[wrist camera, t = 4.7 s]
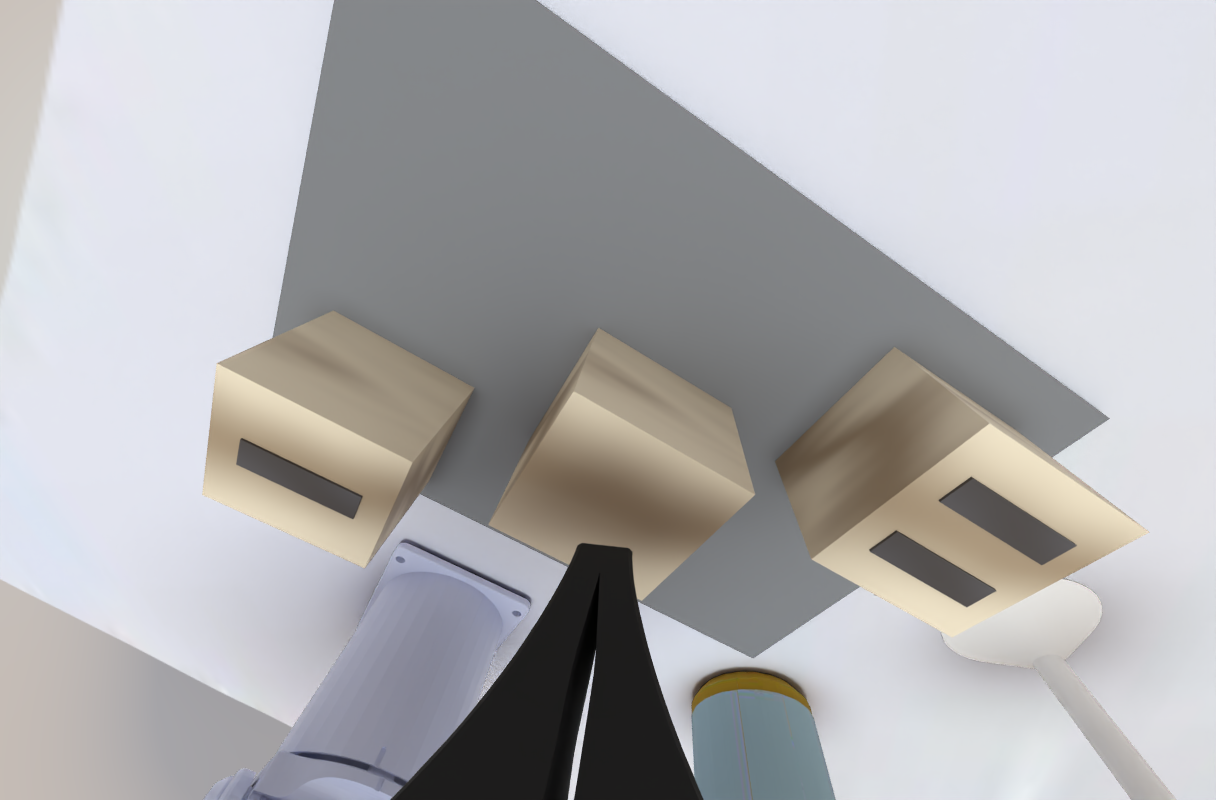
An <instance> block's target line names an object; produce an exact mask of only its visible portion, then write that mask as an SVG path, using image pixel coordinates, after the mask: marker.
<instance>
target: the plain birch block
mask: <svg viewBox="0 0 1216 800" xmlns="http://www.w3.org/2000/svg"><path fill="white" fill-rule="evenodd" d="M754 495H755V492H754V489H753V485H752V481H751V478H750V474H749V470H748V467H747V463H746V459H745V456H744V452H743V449H742V445H741V441H740V438H739V434H738V430H737V427H736V423H735V419H734V416H733V412H732V408H730V407H729V406H727V405H725V404H724V403H722V402H720V401H719V400H717V399H716V398H714V397H712V396H711V395H709V394H707V393H706V392H704V391H702V390H701V389H699V388H697V387H696V386H694V385H692V384H691V383H689V382H687V381H686V380H684V379H682V378H681V377H679V376H678V375H676V374H674V373H673V372H671V371H669V370H668V369H666V368H664V367H663V366H661V365H659V364H658V363H656V362H654V361H653V360H651V359H649V358H648V357H646V356H644V355H643V354H641V353H640V352H638V351H636V350H635V349H633V348H631V347H630V346H628V345H626V344H625V343H623V342H621V341H620V340H618V339H616V338H615V337H613V336H611V335H610V334H608V333H607V332H605V331H603V330H602V329H600V328H598V329H597V331H596V333H595V334H594V336H593V337H592V339H591V341H590V342H589V344H588V346H587V347H586V349H585V350H584V352H583V354H582V355H581V357H580V358H579V360H578V362H577V363H576V365H575V367H574V368H573V370H572V371H571V373H570V375H569V376H568V378H567V380H566V381H565V383H564V384H563V386H562V388H561V389H560V391H559V392H558V394H557V396H556V397H555V399H554V401H553V402H552V404H551V405H550V407H549V409H548V410H547V412H546V414H545V415H544V417H543V418H542V420H541V422H540V423H539V425H538V426H537V428H536V430H535V431H534V433H533V435H532V436H531V438H530V439H529V441H528V443H527V446H526V448H525V450H524V452H523V454H522V456H521V458H520V460H519V462H518V464H517V466H516V468H515V470H514V473H513V475H512V477H511V479H510V481H509V483H508V485H507V487H506V489H505V491H504V493H503V495H502V497H501V500H500V502H499V504H498V506H497V508H496V510H495V512H494V514H493V516H492V518H491V520H490V522H489V524H488V525H489V526H491V527H493V528H495V529H497V530H499V531H501V532H503V533H505V534H507V535H509V536H511V537H513V538H515V539H517V540H519V541H521V542H523V543H526V544H528V545H530V546H532V547H534V548H536V549H538V550H540V551H542V552H544V553H546V554H548V555H550V556H552V557H554V558H556V559H558V560H560V561H562V562H564V563H566V564H568V565H569V564H570V562H571V560H572V558H573V556H574V553H575V551H576V548H577V545H579V544H581V543H588V544H597V545H606V546H616V547H625V548H629V549H630V550H631V551H632V552H633V555H632V561H633V576H634V584H635V590H636V596H637V599H639V600H641V601H642V600H643V599H644V598H645V597H647V596H648V595H649V594H650V593H651V592H652V591H653V590H654V589H655V588H656V587H657V586H658V585H659V584H660V583H661V582H663V581H664V580H665V579H666V578H667V577H668V576H669V575H670V574H671V573H672V572H673V571H674V570H675V569H676V568H678V567H679V566H680V565H681V564H682V563H683V562H684V561H685V560H686V559H687V558H688V557H689V556H690V555H691V554H692V553H694V552H695V551H696V550H697V549H698V548H699V547H700V546H701V545H702V544H703V543H704V542H705V541H706V540H707V539H709V538H710V537H711V536H712V535H713V534H714V533H715V532H716V531H717V530H718V529H719V528H720V527H721V526H722V525H723V524H725V523H726V522H727V521H728V520H729V519H730V518H731V517H732V516H733V515H734V514H735V513H736V512H737V511H738V510H739V509H741V508H742V507H743V506H744V505H745V504H746V503H747V502H748V501H749V500H750V499H751V498H752V497H753V496H754Z"/></svg>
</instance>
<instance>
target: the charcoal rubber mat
mask: <svg viewBox="0 0 1216 800" xmlns="http://www.w3.org/2000/svg"><path fill="white" fill-rule="evenodd" d="M331 311H335V312H337V313H339V314H341V315H343V316H344V317H346V318H348V319H350V320H352V321H354V322H355V323H357V324H359V325H361V326H363V327H364V328H366V329H368V330H370V331H372V332H374V333H375V334H377V335H379V336H381V337H383V338H384V339H386V340H388V341H390V342H392V343H394V344H395V345H397V346H399V347H401V348H403V349H405V350H406V351H408V352H410V353H412V354H414V355H415V356H417V357H419V358H421V359H423V360H425V361H426V362H428V363H430V364H432V365H434V366H435V367H437V368H439V369H441V370H443V371H445V372H446V373H448V374H450V375H452V376H454V377H456V378H457V379H459V380H461V381H463V382H465V383H466V384H468V385H470V386H472V387H474V390H473V392H472V394H471V396H470V398H469V400H468V402H467V404H466V406H465V408H464V410H463V412H462V414H461V416H460V419H459V421H458V423H457V425H456V427H455V429H454V431H453V433H452V435H451V437H450V439H449V441H448V443H447V445H446V447H445V449H444V451H443V453H442V455H441V457H440V459H439V461H438V463H437V465H436V467H435V469H434V472H433V474H432V476H431V478H430V480H429V482H428V483H427V484H426V486H425V487H424V489H423V490H422V491H421V493H420V494H421V495H423V496H425V497H427V498H429V499H431V500H434V501H436V502H438V503H440V504H442V505H444V506H446V507H448V508H450V509H452V510H454V511H456V512H458V513H460V514H462V515H464V516H466V517H468V518H470V519H472V520H474V521H476V522H478V523H480V524H482V525H484V526H486V527H488V528H490V529H492V530H494V531H496V532H498V533H500V534H502V535H504V536H506V537H508V538H510V539H512V540H515V541H517V542H519V543H521V544H523V545H525V546H527V547H529V548H531V549H533V550H535V551H537V552H539V553H541V554H543V555H545V556H547V557H549V558H551V559H553V560H555V561H557V562H559V563H561V564H563V565H565V566H567V567H568V566H569V565H568V564H566V563H564V562H562V561H560V560H558V559H556V558H554V557H552V556H550V555H548V554H546V553H544V552H542V551H540V550H538V549H536V548H534V547H532V546H530V545H528V544H526V543H523V542H521V541H519V540H517V539H515V538H513V537H511V536H509V535H507V534H505V533H503V532H501V531H499V530H497V529H495V528H493V527H491V526H489V525H488V524H489V522H490V520H491V518H492V516H493V514H494V512H495V510H496V508H497V506H498V504H499V502H500V500H501V497H502V495H503V493H504V491H505V489H506V487H507V485H508V483H509V481H510V479H511V477H512V475H513V473H514V470H515V468H516V466H517V464H518V462H519V460H520V458H521V456H522V454H523V452H524V450H525V448H526V446H527V443H528V441H529V439H530V438H531V436H532V435H533V433H534V431H535V430H536V428H537V426H538V425H539V423H540V422H541V420H542V418H543V417H544V415H545V414H546V412H547V410H548V409H549V407H550V405H551V404H552V402H553V401H554V399H555V397H556V396H557V394H558V392H559V391H560V389H561V388H562V386H563V384H564V383H565V381H566V380H567V378H568V376H569V375H570V373H571V371H572V370H573V368H574V367H575V365H576V363H577V362H578V360H579V358H580V357H581V355H582V354H583V352H584V350H585V349H586V347H587V346H588V344H589V342H590V341H591V339H592V337H593V336H594V334H595V333H596V331H597V329H598V328H600V329H602V330H603V331H605V332H607V333H608V334H610V335H611V336H613V337H615V338H616V339H618V340H620V341H621V342H623V343H625V344H626V345H628V346H630V347H631V348H633V349H635V350H636V351H638V352H640V353H641V354H643V355H644V356H646V357H648V358H649V359H651V360H653V361H654V362H656V363H658V364H659V365H661V366H663V367H664V368H666V369H668V370H669V371H671V372H673V373H674V374H676V375H678V376H679V377H681V378H682V379H684V380H686V381H687V382H689V383H691V384H692V385H694V386H696V387H697V388H699V389H701V390H702V391H704V392H706V393H707V394H709V395H711V396H712V397H714V398H716V399H717V400H719V401H720V402H722V403H724V404H725V405H727V406H729V407H730V408H732V412H733V416H734V419H735V423H736V427H737V430H738V434H739V438H740V441H741V445H742V449H743V452H744V456H745V459H746V463H747V467H748V470H749V474H750V478H751V481H752V485H753V489H754V492H755V495H754V496H753V497H752V498H751V499H750V500H749V501H748V502H747V503H746V504H745V505H744V506H743V507H742V508H741V509H739V510H738V511H737V512H736V513H735V514H734V515H733V516H732V517H731V518H730V519H729V520H728V521H727V522H726V523H725V524H723V525H722V526H721V527H720V528H719V529H718V530H717V531H716V532H715V533H714V534H713V535H712V536H711V537H710V538H709V539H707V540H706V541H705V542H704V543H703V544H702V545H701V546H700V547H699V548H698V549H697V550H696V551H695V552H694V553H692V554H691V555H690V556H689V557H688V558H687V559H686V560H685V561H684V562H683V563H682V564H681V565H680V566H679V567H678V568H676V569H675V570H674V571H673V572H672V573H671V574H670V575H669V576H668V577H667V578H666V579H665V580H664V581H663V582H661V583H660V584H659V585H658V586H657V587H656V588H655V589H654V590H653V591H652V592H651V593H650V594H649V595H648V596H647V597H645V598H644V599H643V600H642V601H641V600H639V599H637V601H638V602H640V603H642V604H644V605H646V606H648V607H650V608H652V609H654V610H656V611H658V612H660V613H662V614H664V615H666V616H668V617H670V618H672V619H674V620H677V621H679V622H681V623H683V624H685V625H687V626H689V627H691V628H693V629H695V630H697V631H699V632H701V633H703V634H705V635H707V636H709V637H711V638H713V639H715V640H717V641H719V642H721V643H723V644H725V645H727V646H729V647H731V648H733V649H735V650H737V651H739V652H741V653H743V654H745V655H747V656H749V657H751V658H754V657H756V656H757V655H759V654H760V653H762V652H763V651H765V650H766V649H768V648H769V647H771V646H772V645H774V644H775V643H777V642H778V641H780V640H781V639H783V638H784V637H786V636H787V635H789V634H790V633H792V632H793V631H795V630H796V629H798V628H799V627H801V626H802V625H804V624H805V623H807V622H808V621H809V620H811V619H812V618H814V617H815V616H817V615H818V614H820V613H821V612H823V611H824V610H826V609H827V608H829V607H830V606H832V605H833V604H835V603H836V602H838V601H839V600H841V599H842V598H844V597H845V596H847V595H848V594H850V593H851V592H853V591H854V590H856V589H857V588H859V587H860V586H858V585H857V584H855V583H853V582H851V581H849V580H848V579H846V578H844V577H842V576H840V575H839V574H837V573H835V572H833V571H831V570H830V569H828V568H826V567H824V566H822V565H821V564H819V563H817V562H815V561H813V560H812V559H811V557H810V554H809V552H808V549H807V546H806V544H805V541H804V538H803V536H802V533H801V530H800V528H799V525H798V522H797V519H796V517H795V514H794V511H793V509H792V506H791V503H790V501H789V498H788V495H787V492H786V490H785V487H784V484H783V482H782V479H781V476H780V474H779V471H778V468H777V465H776V463H775V461H776V460H777V459H778V458H779V457H780V456H781V455H782V454H783V453H784V452H785V451H786V450H787V449H788V448H790V447H791V446H792V445H793V444H794V443H795V442H796V441H797V440H798V439H799V438H800V437H801V436H802V435H803V434H804V433H805V432H806V431H807V430H808V429H809V428H810V427H811V426H812V425H814V424H815V423H816V422H817V421H818V420H819V419H820V418H821V417H822V416H823V415H824V414H825V413H826V412H827V411H828V410H829V409H830V408H831V407H832V406H833V405H834V404H835V403H836V402H837V401H839V400H840V399H841V398H842V397H843V396H844V395H845V394H846V393H847V392H848V391H849V390H850V389H851V388H852V387H853V386H854V385H855V384H856V383H857V382H858V381H859V380H860V379H861V378H862V377H864V376H865V375H866V374H867V373H868V372H869V371H870V370H871V369H872V368H873V367H874V366H875V365H876V364H877V363H878V362H879V361H880V360H881V359H882V358H883V357H884V356H885V355H886V354H888V353H889V352H890V351H891V350H892V349H893V348H894V347H895V348H897V349H898V350H900V351H901V352H903V353H904V354H906V355H907V356H909V357H910V358H911V359H913V360H914V361H916V362H917V363H919V364H920V365H922V366H923V367H925V368H926V369H927V370H929V371H930V372H932V373H933V374H935V375H936V376H938V377H939V378H941V379H942V380H944V381H945V382H946V383H948V384H949V385H951V386H952V387H954V388H955V389H957V390H958V391H960V392H961V393H962V394H964V395H965V396H967V397H968V398H970V399H971V400H973V401H974V402H976V403H977V404H979V405H980V406H981V407H983V408H984V409H986V410H987V411H989V412H990V413H992V414H993V415H995V416H996V417H997V418H999V419H1000V420H1002V421H1003V422H1005V423H1006V424H1008V425H1009V426H1011V427H1012V428H1013V429H1015V430H1016V431H1018V432H1019V433H1020V434H1022V435H1023V436H1024V437H1026V438H1027V439H1028V440H1030V441H1031V442H1032V443H1033V444H1035V445H1036V446H1037V447H1039V448H1040V449H1041V450H1043V451H1044V452H1045V453H1047V454H1048V455H1049V456H1050V457H1053V456H1055V455H1056V454H1058V453H1059V452H1061V451H1062V450H1064V449H1065V448H1067V447H1068V446H1070V445H1071V444H1073V443H1074V442H1076V441H1077V440H1079V439H1080V438H1082V437H1083V436H1085V435H1086V434H1088V433H1089V432H1090V431H1092V430H1093V429H1095V428H1096V427H1098V426H1099V425H1101V424H1102V423H1104V422H1105V421H1107V420H1108V419H1110V418H1108V417H1107V416H1106V415H1104V414H1103V413H1101V412H1100V411H1099V410H1097V409H1096V408H1095V407H1093V406H1092V405H1090V404H1089V403H1088V402H1086V401H1085V400H1084V399H1082V398H1081V397H1079V396H1078V395H1077V394H1075V393H1074V392H1073V391H1071V390H1070V389H1068V388H1067V387H1066V386H1064V385H1063V384H1062V383H1060V382H1059V381H1058V380H1056V379H1055V378H1053V377H1052V376H1051V375H1049V374H1048V373H1047V372H1045V371H1044V370H1042V369H1041V368H1040V367H1038V366H1037V365H1036V364H1034V363H1033V362H1031V361H1030V360H1029V359H1027V358H1026V357H1025V356H1023V355H1022V354H1020V353H1019V352H1018V351H1016V350H1015V349H1014V348H1012V347H1011V346H1009V345H1008V344H1007V343H1005V342H1004V341H1003V340H1001V339H1000V338H999V337H997V336H996V335H994V334H993V333H992V332H990V331H989V330H988V329H986V328H985V327H983V326H982V325H981V324H979V323H978V322H977V321H975V320H974V319H972V318H971V317H970V316H968V315H967V314H966V313H964V312H963V311H961V310H960V309H959V308H957V307H956V306H955V305H953V304H952V303H950V302H949V301H948V300H946V299H945V298H944V297H942V296H941V295H940V294H938V293H937V292H935V291H934V290H933V289H931V288H930V287H929V286H927V285H926V284H924V283H923V282H922V281H920V280H919V279H918V278H916V277H915V276H913V275H912V274H911V273H909V272H908V271H907V270H905V269H904V268H902V267H901V266H900V265H898V264H897V263H896V262H894V261H893V260H892V259H890V258H889V257H887V256H886V255H885V254H883V253H882V252H881V251H879V250H878V249H876V248H875V247H874V246H872V245H871V244H870V243H868V242H867V241H865V240H864V239H863V238H861V237H860V236H859V235H857V234H856V233H854V232H853V231H852V230H850V229H849V228H848V227H846V226H845V225H843V224H842V223H841V222H839V221H838V220H837V219H835V218H834V217H833V216H831V215H830V214H828V213H827V212H826V211H824V210H823V209H822V208H820V207H819V206H817V205H816V204H815V203H813V202H812V201H811V200H809V199H808V198H806V197H805V196H804V195H802V194H801V193H800V192H798V191H797V190H795V189H794V188H793V187H791V186H790V185H789V184H787V183H786V182H784V181H783V180H782V179H780V178H779V177H778V176H776V175H775V174H774V173H772V172H771V171H769V170H768V169H767V168H765V167H764V166H763V165H761V164H760V163H758V162H757V161H756V160H754V159H753V158H752V157H750V156H749V155H747V154H746V153H745V152H743V151H742V150H741V149H739V148H738V147H736V146H735V145H734V144H732V143H731V142H730V141H728V140H727V139H726V138H724V137H723V136H721V135H720V134H719V133H717V132H716V131H715V130H713V129H712V128H710V127H709V126H708V125H706V124H705V123H704V122H702V121H701V120H699V119H698V118H697V117H695V116H694V115H693V114H691V113H690V112H688V111H687V110H686V109H684V108H683V107H682V106H680V105H679V104H677V103H676V102H675V101H673V100H672V99H671V98H669V97H668V96H667V95H665V94H664V93H662V92H661V91H660V90H658V89H657V88H656V87H654V86H653V85H651V84H650V83H649V82H647V81H646V80H645V79H643V78H642V77H640V76H639V75H638V74H636V73H635V72H634V71H632V70H631V69H629V68H628V67H627V66H625V65H624V64H623V63H621V62H620V61H619V60H617V59H616V58H614V57H613V56H612V55H610V54H609V53H608V52H606V51H605V50H603V49H602V48H601V47H599V46H598V45H597V44H595V43H594V42H592V41H591V40H590V39H588V38H587V37H586V36H584V35H583V34H581V33H580V32H579V31H577V30H576V29H575V28H573V27H572V26H570V25H569V24H568V23H566V22H565V21H564V20H562V19H561V18H560V17H558V16H557V15H555V14H554V13H553V12H551V11H550V10H549V9H547V8H546V7H544V6H543V5H542V4H540V3H539V2H538V1H536V0H334V4H333V10H332V15H331V21H330V26H329V32H328V37H327V43H326V48H325V54H324V59H323V64H322V70H321V75H320V81H319V86H318V92H317V97H316V103H315V108H314V114H313V119H312V125H311V130H310V136H309V141H308V147H307V152H306V158H305V163H304V169H303V174H302V180H301V185H300V191H299V196H298V202H297V207H296V213H295V218H294V224H293V229H292V235H291V240H290V246H289V251H288V257H287V262H286V268H285V273H284V279H283V284H282V290H281V295H280V301H279V306H278V312H277V317H276V322H275V328H274V333H273V338H274V337H276V336H278V335H281V334H283V333H285V332H287V331H289V330H292V329H294V328H296V327H298V326H300V325H303V324H305V323H307V322H309V321H311V320H314V319H316V318H318V317H320V316H322V315H325V314H327V313H329V312H331Z"/></svg>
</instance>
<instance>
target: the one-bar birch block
mask: <svg viewBox="0 0 1216 800" xmlns="http://www.w3.org/2000/svg"><path fill="white" fill-rule="evenodd" d="M473 390H474V387H472V386H470V385H468V384H466V383H465V382H463V381H461V380H459V379H457V378H456V377H454V376H452V375H450V374H448V373H446V372H445V371H443V370H441V369H439V368H437V367H435V366H434V365H432V364H430V363H428V362H426V361H425V360H423V359H421V358H419V357H417V356H415V355H414V354H412V353H410V352H408V351H406V350H405V349H403V348H401V347H399V346H397V345H395V344H394V343H392V342H390V341H388V340H386V339H384V338H383V337H381V336H379V335H377V334H375V333H374V332H372V331H370V330H368V329H366V328H364V327H363V326H361V325H359V324H357V323H355V322H354V321H352V320H350V319H348V318H346V317H344V316H343V315H341V314H339V313H337V312H335V311H331V312H329V313H327V314H325V315H322V316H320V317H318V318H316V319H314V320H311V321H309V322H307V323H305V324H303V325H300V326H298V327H296V328H294V329H292V330H289V331H287V332H285V333H283V334H281V335H278V336H276V337H274V338H272V339H270V340H267V341H265V342H263V343H261V344H258V345H256V346H254V347H252V348H250V349H247V350H245V351H243V352H241V353H239V354H236V355H234V356H232V357H230V358H228V359H225V360H223V361H221V362H219V363H217V366H216V375H215V384H214V393H213V402H212V411H211V421H210V430H209V439H208V448H207V457H206V466H205V475H204V484H203V493H202V495H204V496H206V497H208V498H211V499H213V500H215V501H217V502H219V503H222V504H224V505H226V506H228V507H230V508H233V509H235V510H237V511H239V512H242V513H244V514H246V515H248V516H250V517H253V518H255V519H257V520H259V521H261V522H264V523H266V524H268V525H270V526H272V527H275V528H277V529H279V530H281V531H283V532H286V533H288V534H290V535H292V536H294V537H297V538H299V539H301V540H303V541H305V542H308V543H310V544H312V545H314V546H317V547H319V548H321V549H323V550H325V551H328V552H330V553H332V554H334V555H336V556H339V557H341V558H343V559H345V560H347V561H350V562H352V563H354V564H356V565H358V566H361V567H363V568H366V566H367V565H368V564H369V562H370V561H371V559H372V558H373V557H374V555H375V554H376V553H377V551H378V550H379V549H380V547H381V546H382V544H383V543H384V542H385V540H386V539H387V538H388V536H389V535H390V534H391V532H392V531H393V529H394V528H395V527H396V525H397V524H398V523H399V521H400V520H401V519H402V517H403V516H404V514H405V513H406V512H407V510H408V509H409V508H410V506H411V505H412V504H413V502H414V501H415V499H416V498H417V497H418V495H419V494H420V493H421V491H422V490H423V489H424V487H425V486H426V484H427V483H428V482H429V480H430V478H431V476H432V474H433V472H434V469H435V467H436V465H437V463H438V461H439V459H440V457H441V455H442V453H443V451H444V449H445V447H446V445H447V443H448V441H449V439H450V437H451V435H452V433H453V431H454V429H455V427H456V425H457V423H458V421H459V419H460V416H461V414H462V412H463V410H464V408H465V406H466V404H467V402H468V400H469V398H470V396H471V394H472V392H473Z"/></svg>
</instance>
